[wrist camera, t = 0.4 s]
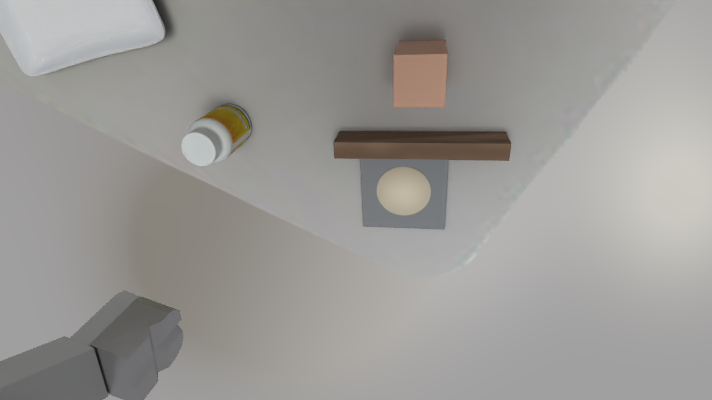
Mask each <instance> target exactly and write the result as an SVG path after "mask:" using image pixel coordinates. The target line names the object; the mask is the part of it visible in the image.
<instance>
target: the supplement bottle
mask: <svg viewBox="0 0 712 400" xmlns="http://www.w3.org/2000/svg"><path fill="white" fill-rule="evenodd" d="M250 134H251V122H250V119H249V117H248V116H247V114H246V113H245V112H244V111H243V110H242V109H241V108H239V107H238V106H235V105H232V104H226V105H222V106H220V107H218V108H216V109H214V110H213V111H211V112H210V113H208V114H206V115H205V116H203V117H202V118H200V119H198V120H197V121H195V122H194V123H193V124H192V125H191V126H190V128H189V130H188V134H187V135H186V136H185V137H184V138H183V140H182V143H181V147H182V152H183V154H184V156H185V157H186V158H187V159H188V160H189V161H190V162H191V163H193V164H195V165H198V166H207V165H209V164H211V163H217V162H221V161H223V160H225V159H226V158H227V157H229V156H230V155H231V154H232V153H233V152H234V151H235V150H236V149H237V148H239V147H240V146H241V145H242V144H243V143H244V142H245V141H246V140H247V139H248V138H249V136H250Z"/></svg>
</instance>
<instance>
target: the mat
mask: <svg viewBox="0 0 712 400" xmlns="http://www.w3.org/2000/svg"><path fill="white" fill-rule="evenodd" d="M360 167H361V189H362V210H363V226H366V227H393V228H419V229H445V214H446V195H447V176H448V160H426V159H360Z"/></svg>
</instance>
